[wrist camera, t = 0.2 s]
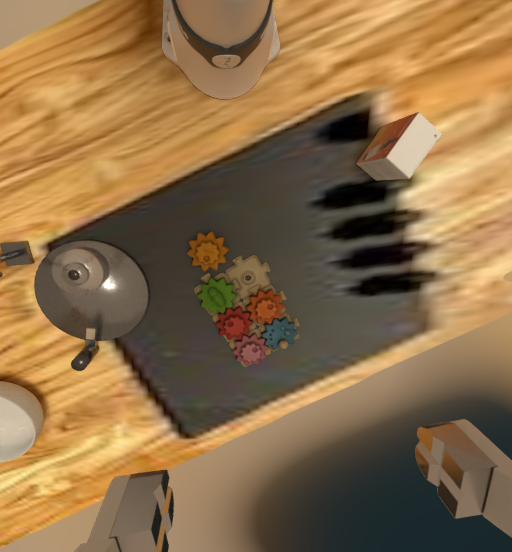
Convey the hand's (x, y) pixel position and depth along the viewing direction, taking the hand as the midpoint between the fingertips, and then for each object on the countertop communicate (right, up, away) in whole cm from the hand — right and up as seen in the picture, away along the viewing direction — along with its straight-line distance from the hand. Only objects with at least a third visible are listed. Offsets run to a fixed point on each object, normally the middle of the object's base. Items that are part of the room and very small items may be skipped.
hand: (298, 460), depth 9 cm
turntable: (-32, +1, +45) cm, 55 cm away
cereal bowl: (-53, -21, +50) cm, 76 cm away
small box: (+22, +29, +44) cm, 57 cm away
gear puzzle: (-4, +2, +50) cm, 50 cm away
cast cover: (-32, +7, +42) cm, 54 cm away
